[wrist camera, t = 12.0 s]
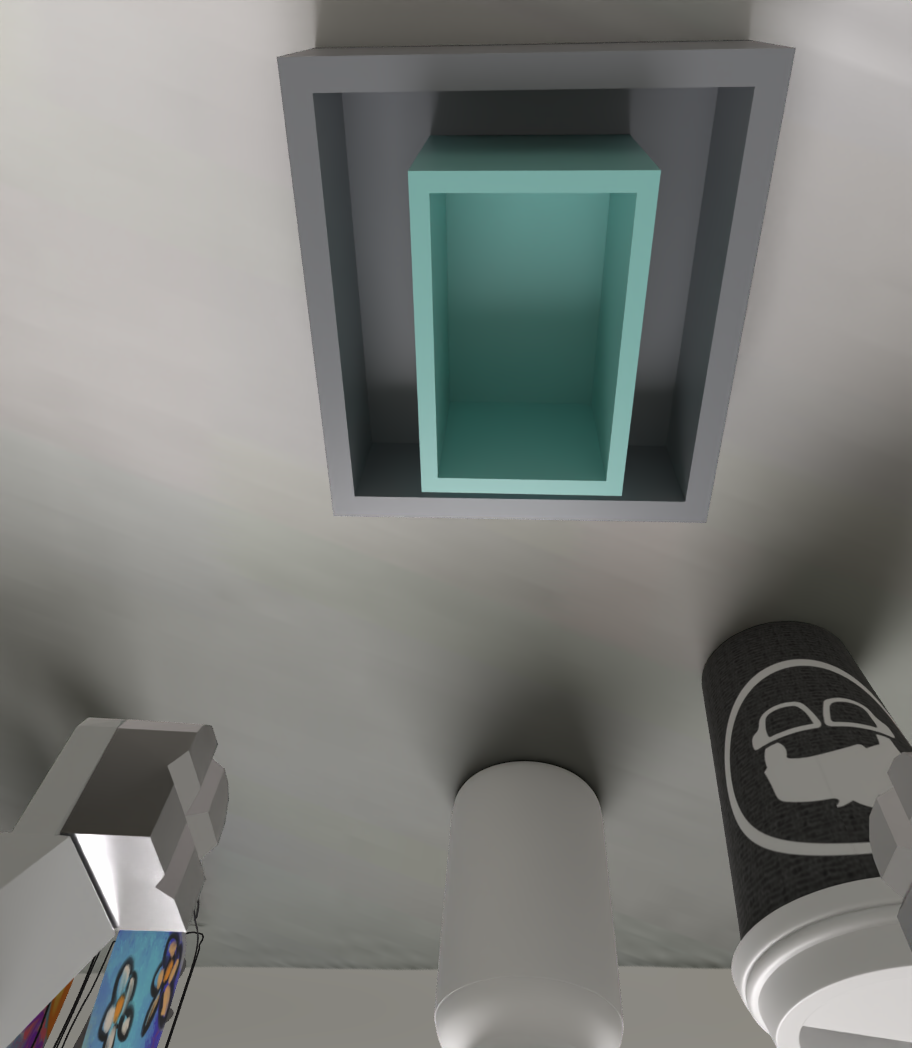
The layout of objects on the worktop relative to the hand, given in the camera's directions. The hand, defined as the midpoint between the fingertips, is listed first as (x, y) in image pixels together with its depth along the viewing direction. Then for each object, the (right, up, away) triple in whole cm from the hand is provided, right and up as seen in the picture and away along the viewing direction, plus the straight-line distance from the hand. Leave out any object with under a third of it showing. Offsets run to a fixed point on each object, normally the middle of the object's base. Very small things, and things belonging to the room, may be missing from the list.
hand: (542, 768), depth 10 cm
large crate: (+1, +11, +17) cm, 21 cm away
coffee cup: (+13, -4, +27) cm, 30 cm away
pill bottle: (+3, -12, +33) cm, 35 cm away
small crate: (+1, +11, +17) cm, 20 cm away
